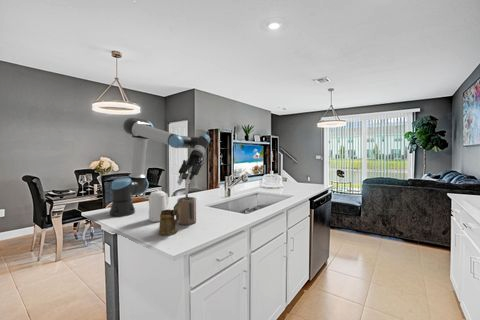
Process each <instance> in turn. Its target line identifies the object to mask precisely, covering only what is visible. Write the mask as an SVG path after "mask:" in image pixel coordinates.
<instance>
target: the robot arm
mask: <svg viewBox="0 0 480 320" xmlns="http://www.w3.org/2000/svg"><path fill="white" fill-rule="evenodd" d="M122 127H123V131H124V132H125V133H126V134H128V135H130V136H131V139H133V150H132V161H131V170H130V171H131V172H130V174H129V175H128V176H127V177H121V178H116V179H114V180H113V181H112V182H111V188H110V189H111V206H110V209H109V217H115V218H116V217H117V218H118V217H124V216H125V217H127V216H130V215H133V214H135V212H136V209H135V207H134V204H133V201H132V199H133V197H132V196H136V195H141V194H143V193H145V192H147V190H148V188H149V185H150V183H149V181H148V178H147V175H146V174H145V167H146V160H147V159H146V158H147V157H146V156H147V146H148V141H149V140H153V141H156V142H159V143H161V144H165V145H168V146H170V147H171V148H173V149H192V151H191V152H190V154H189V157H188V159H187V160H186V159H183V161H182V163H181V166H180V168H179V169H178V174H179V176H178V180H177V181H176V183H177V184H178V185H179V186H181V185H182V183H183V181H184V184H185V183H186V185H188V186H189V184H190V183H191V180H193V178H194V177H195V176H198V175H199V173H200V170H201V168H202V166H203V165H204V163H205V162H204V161H203V158H204V155H205V153H206V151H207V149H208V147H209V145H210V142H211V137H210V136H209V135H208V134H206V133H202V134H200V135H199V136H187V135H185V136H183V135H178V134H176V133H172V132H168V131H165V130H164V129H163V130H162V129H159V128H156V127H154V125H153V123H152V122H151V121H150V120H147V119H142V118H137V117H129V118H127V119H125V120H124V122H123V125H122ZM190 168H191V171H190V172H189V175H188V177H187V179H186V181H185V180H184V179H182V174H184V173H188V171H189V169H190Z"/></svg>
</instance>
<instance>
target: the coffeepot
mask: <svg viewBox="0 0 480 320" xmlns="http://www.w3.org/2000/svg"><path fill="white" fill-rule="evenodd" d="M144 198H148V221H149V222H153V223H160V214H161V211H163V210H168V205H169V195H168V193H167V192H165V191H162V190H160V189H159V188H156V189H155V191H151V192H150V194H149V195H148V194H147V195H146V194H145V196H144Z"/></svg>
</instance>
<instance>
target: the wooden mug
mask: <svg viewBox="0 0 480 320" xmlns="http://www.w3.org/2000/svg"><path fill="white" fill-rule="evenodd" d="M182 203H183V199H181V200H180V201H178V202H176V203H175V204H174V206H173V209H167V210H163V211H161V214H160V222H159V227H158V233H157V234H158V236H161V237H163V236H164V237H167V236H172V235H175V234H177V232H178V227H177V224H178V220H179V212H178V208H179V207H180V206H181V205H182Z"/></svg>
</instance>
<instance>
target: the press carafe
mask: <svg viewBox="0 0 480 320" xmlns="http://www.w3.org/2000/svg"><path fill="white" fill-rule="evenodd" d="M181 199H183V203H182V205H181V206H180V207H179V208H178V212H179V220H178V222H177V224H178V225H180V226H191V225H195V224H196V223H197V198H196V197H194V196H188V200H186V198H185V196H184V197H179V198H178V199H177V200H176V201H177V202H178V201H180V200H181ZM177 202H176V203H177Z"/></svg>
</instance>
